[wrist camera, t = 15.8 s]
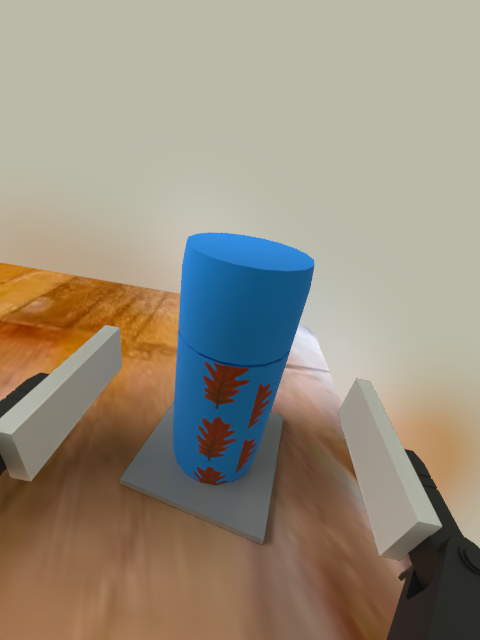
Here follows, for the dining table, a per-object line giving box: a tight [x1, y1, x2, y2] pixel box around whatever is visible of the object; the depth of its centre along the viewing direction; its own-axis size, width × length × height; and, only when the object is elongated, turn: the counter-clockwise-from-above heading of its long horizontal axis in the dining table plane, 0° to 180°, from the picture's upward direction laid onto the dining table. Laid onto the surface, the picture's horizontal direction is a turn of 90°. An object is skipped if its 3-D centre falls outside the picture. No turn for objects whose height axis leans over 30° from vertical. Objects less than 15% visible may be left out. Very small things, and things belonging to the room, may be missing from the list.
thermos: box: [173, 233, 314, 485], centre depth 27 cm, size 11×11×25 cm
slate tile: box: [120, 402, 284, 545], centre depth 33 cm, size 16×16×1 cm
